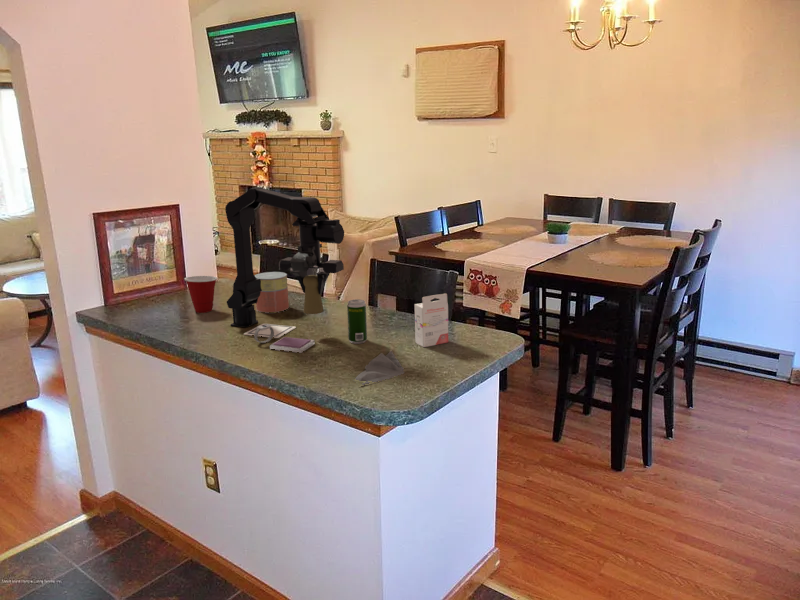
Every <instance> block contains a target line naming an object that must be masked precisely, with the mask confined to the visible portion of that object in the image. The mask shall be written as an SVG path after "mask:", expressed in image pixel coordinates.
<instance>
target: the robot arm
mask: <svg viewBox="0 0 800 600" xmlns="http://www.w3.org/2000/svg"><path fill="white" fill-rule="evenodd" d="M261 204H263V205H266V206H267V205H268V206H270V207H274V208H278V209H282V210H285V211H287V212H289V213H290V215H291V216H294V217H296V220H295V221H294V222H293V223H292V224H291V225H292V226H293V227H298V230H299V231H298V233H299V234H298V235H299V245H298V246H297V252H296V254H294V255H293V256H292V257H289V256H288V257H286V258H282V259H280V260H279V262H278V270H279V271H289V273H290V274H292V275H293V276H295V277H296V279H297V281H298V283H299V285H300V288H301V291H302V292H303V294H305V286H304V284H303V279H304V277H305V276H308V270H309V269H316V270H317V269H318V270H319V271H318V272H316V273H315V275H317V277H318V292H319V294H321V295H322V293H323V290H324V288H325V285H326V283H327V280H328V278H329V276H330V274H337V273H339V272H341V271H344V268H345V267H344V263H343V262H344V261H342V260H338V259H329V260H328V261H326V262H323V260H324V259H323V256H322V257H321V248H322V247H323V244H336V245H339V244H342V243H343V240H344V238H345V230H344V227H343V225H342V223H340V222H341V221H340V219H330V218H329V216H328V214H327V213H326V212H325V210H324V208H323V207H322V204H321V202H320V200H319V199H318V198H317V197H312V196H310V197H309V196H292V195H288V194H285V193H282V192H276V191H274V190H271V189H267V188H263V186H256V187H251V188H249V189H248V190H247V191H246V192H245V193H243V194H241V195H240V196H238V197H237V198H234V200H230V201H228V202H227V204H226V205H225V208H224V209H225V215H226V220H227V222H228V224H229V225H230V227H231V228H232V231H233V241H234V242H233V244H234V253H235V263H236V264H235V266H236V276H235V279H234V282H233V284H232V295H230V297H229V298H228V299H227V301H226V305H227V307H228V309H232V311H231V312H232V321H233V322H232V323H230V326H232V327H239V328H241V327H242V328H248V327H251V326H253V325H255V324H256V323H259V320H257V310H256V309H255V304H256V303H257V301H258V297H259V296H260V293H261V291H262V289H261V280H260V279H257V278H256V277H255V276H254V275H255V274H254V267H253V255H252V253H253V251H252V239H251V227H252V224H253V221H254V219H255V217H254V216H255V210H257V209H258V207H260V206H261ZM322 243H323V244H322Z"/></svg>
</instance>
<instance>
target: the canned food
mask: <svg viewBox="0 0 800 600" xmlns="http://www.w3.org/2000/svg"><path fill="white" fill-rule="evenodd" d="M254 276H255V277H256V278H257V279H260V280H261V289H262V291H261V293H260V296H259V297H258V301H257V303H255V304H256V305H255V307H256V309H257V310H256V312H258V311H259V312H258V313H261V312H265V313H264V314H270V313H269V312H278V313H280V312H279V311H283V312H285V311H284V310H286V309H288V308H289V309H290V304H289V289H288V273H286V272H283V271H265V272H260V273H257V274H254ZM289 309H288V310H289ZM286 311H287V310H286Z"/></svg>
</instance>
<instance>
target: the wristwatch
mask: <svg viewBox="0 0 800 600" xmlns="http://www.w3.org/2000/svg"><path fill="white" fill-rule="evenodd" d="M264 324H265V325H262V326H259V325H257V326H256V327H255V328H257V329H256V331H255V334H254V336H253V337H254V338H253V339H254V340H255V341H256V342H257V343H260V344H266V342H267V343H269V342H270V341H271V340H272V339H274V338H273V336H274V330H273V329H272V327H271V326H269V325H266V324H267V323H264ZM269 328H270V330H271V334H270V337H267V339H266V340H263V341H262V340H261V341H260V340H259V338H258V337H259V336H258V332H259V331H260V330H265V329H269Z"/></svg>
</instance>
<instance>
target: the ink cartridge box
mask: <svg viewBox="0 0 800 600" xmlns="http://www.w3.org/2000/svg"><path fill="white" fill-rule="evenodd" d="M421 299H422V300H421V301H422V302H421V303H414V333H415V335H414V336H415V338H414V339H415V340H414V341H415V344H417V345H419V346H420V347H423V348H427V347H433V346H436V345H441V344H447V343H449V304H448V294H447V293H445V292H444V293H440V294H433V295H427V296H423V297H422V298H421ZM434 299H436V300H434ZM437 299H438V300H437ZM432 300H434V301H432Z"/></svg>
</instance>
